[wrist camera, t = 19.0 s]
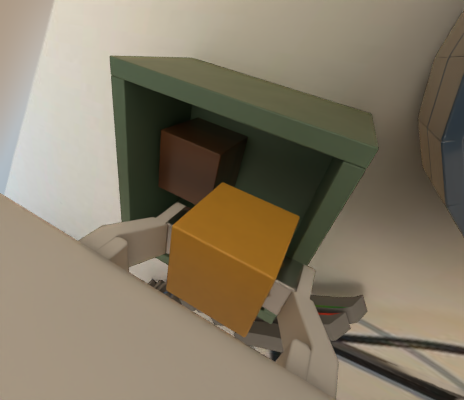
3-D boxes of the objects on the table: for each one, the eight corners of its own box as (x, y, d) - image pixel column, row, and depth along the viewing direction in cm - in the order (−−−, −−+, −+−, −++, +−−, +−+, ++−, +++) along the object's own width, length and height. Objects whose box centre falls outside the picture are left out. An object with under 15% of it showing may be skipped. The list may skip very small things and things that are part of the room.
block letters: (362, 282, 18) (363, 354, 14) (367, 298, 18) (369, 372, 14) (151, 279, 32) (116, 315, 27) (156, 289, 32) (124, 325, 28)
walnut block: (197, 116, 17) (160, 129, 14) (248, 136, 16) (220, 154, 13) (191, 166, 19) (157, 186, 16) (235, 186, 18) (209, 211, 15)
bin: (191, 57, 16) (108, 55, 11) (372, 113, 13) (379, 148, 8) (177, 198, 22) (122, 239, 17) (294, 255, 20) (271, 325, 14)
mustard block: (222, 181, 12) (170, 225, 8) (300, 215, 11) (275, 280, 7) (209, 238, 14) (165, 290, 11) (273, 271, 13) (244, 339, 10)
